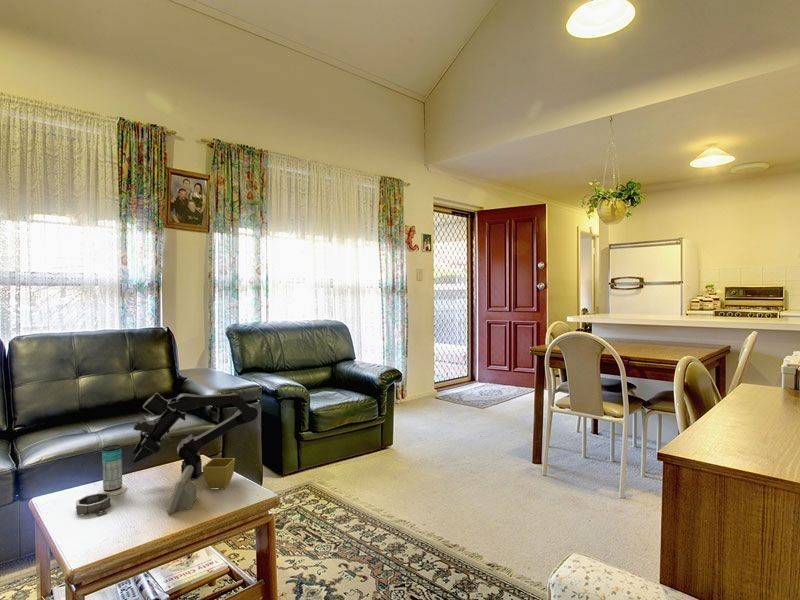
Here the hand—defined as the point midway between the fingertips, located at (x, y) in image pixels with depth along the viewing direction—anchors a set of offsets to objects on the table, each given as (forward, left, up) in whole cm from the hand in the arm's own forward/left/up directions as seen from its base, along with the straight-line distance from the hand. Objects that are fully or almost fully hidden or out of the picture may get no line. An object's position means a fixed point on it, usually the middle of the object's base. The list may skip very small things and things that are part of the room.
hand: (133, 457), depth 173 cm
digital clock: (-26, +11, -11) cm, 30 cm away
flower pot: (-32, -4, -11) cm, 34 cm away
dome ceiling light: (+5, +4, -11) cm, 13 cm away
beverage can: (+5, +4, -10) cm, 12 cm away
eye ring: (+1, +17, -11) cm, 20 cm away
